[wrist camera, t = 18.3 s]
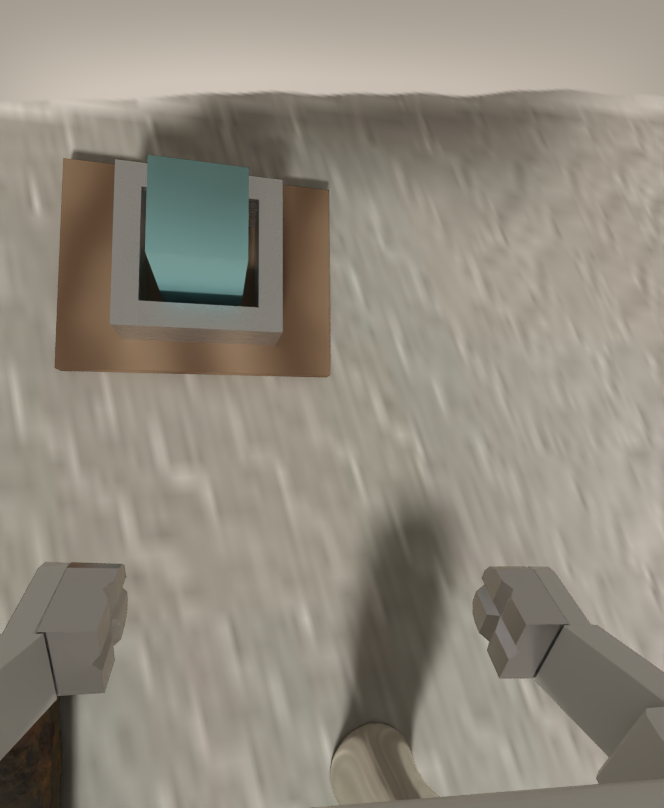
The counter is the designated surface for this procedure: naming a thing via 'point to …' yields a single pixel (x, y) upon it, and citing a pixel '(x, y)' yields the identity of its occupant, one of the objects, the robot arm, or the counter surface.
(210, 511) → the counter surface
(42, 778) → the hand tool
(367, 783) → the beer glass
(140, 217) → the socket
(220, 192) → the teal peg
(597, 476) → the counter surface
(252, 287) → the walnut board
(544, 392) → the counter surface
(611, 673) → the robot arm
